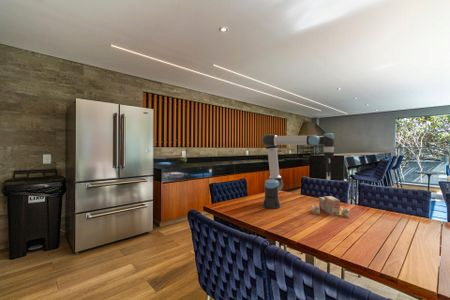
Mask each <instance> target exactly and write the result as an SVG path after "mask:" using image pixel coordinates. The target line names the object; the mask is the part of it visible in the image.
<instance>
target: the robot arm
mask: <svg viewBox="0 0 450 300" xmlns="http://www.w3.org/2000/svg"><path fill="white" fill-rule="evenodd" d="M261 143H262V144H263V145H264V147H265V150H266V151H267V157H268V166H269V167H268V168H269V176H268V179H266V180H265V181H264V199H263V203H262V207H263V208H264V209H272V210H277V209H280V208H281V203H280V199H279V192H280V191H282V189H283V187H284V182H283V180H282V179H283V178H282V176H281V175H280V167H279V158H278V157H279V156H278V149H279V145H280V146H283V145H286V146H289V145H290V146H299V145H300V146H323V157H324V158H325V165H326V167H325V168H326V171H325V172H326V181H331V173H332V161H333V160H332V157H333V158H334V156H335V155H334V154H335V152H334V151H335V134H334V133H324V134H323V135H315V134H313V135H276V134H271V133H268V134H267V133H266V134H265V135H263V137H261Z"/></svg>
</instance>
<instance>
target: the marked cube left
mask: <svg viewBox="0 0 450 300" xmlns="http://www.w3.org/2000/svg"><path fill="white" fill-rule="evenodd" d="M311 212H312V214H317V215H319V214H320V213H321V208H320V207H319V205H311Z"/></svg>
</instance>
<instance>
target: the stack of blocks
mask: <svg viewBox="0 0 450 300" xmlns="http://www.w3.org/2000/svg"><path fill="white" fill-rule="evenodd" d="M318 199H319V200H318V203H319V205H318V206H319V207H320V210H322V211H323V212H325V213H327V214H329V215H330V216H332V217H334V216H335V217H336V216H337V217H338V216H340V209H341V206H340V202H341V200H340V199H338V198H336V197H334V196H332V195H329V196H328V195H326V196H325V195H324V196H319V197H318Z"/></svg>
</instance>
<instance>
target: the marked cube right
mask: <svg viewBox="0 0 450 300" xmlns="http://www.w3.org/2000/svg"><path fill="white" fill-rule="evenodd" d="M340 210H341V217H343V218H344V217H345V218H350V209H349V208H345V207H344V208H343V207H341V208H340Z"/></svg>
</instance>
